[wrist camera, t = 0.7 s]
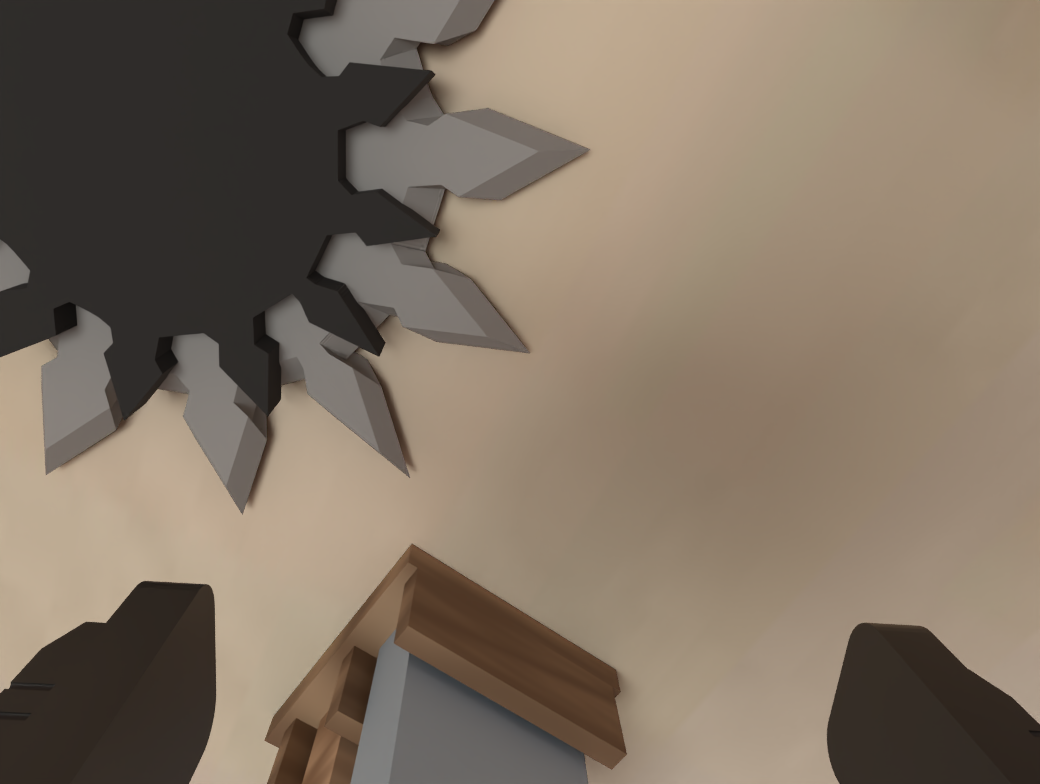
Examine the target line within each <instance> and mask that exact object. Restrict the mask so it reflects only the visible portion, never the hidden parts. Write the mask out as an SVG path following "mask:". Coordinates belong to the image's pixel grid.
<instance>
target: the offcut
mask: <svg viewBox="0 0 1040 784" xmlns="http://www.w3.org/2000/svg"><path fill="white" fill-rule="evenodd" d="M327 715H328V712H327V713H326V714H325V715H324V717H323V718H322V719H321V720H320V723H319V727H318V730H317V733H316V737H315V740H314V744H313V747H312V751H311V754H310V758H309V761H308V765H307V768H306V771H305V775H304V778H303V782H302V784H350V783H351V779H352V774H353V769H354V765H355V760H356V756H357V751H358V746H359V745H357V744H355V743H353V742H351V741H349V740H348V739H346V738H344V737H342V736H340V735H338V734H336V733H334V732H333V731H331V730H329V729H327V728H325V727H324V725H325V722H326V718H327Z"/></svg>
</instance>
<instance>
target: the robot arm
mask: <svg viewBox="0 0 1040 784" xmlns="http://www.w3.org/2000/svg"><path fill="white" fill-rule="evenodd" d="M215 704H216V657H215V604H214V594H213V591H212V588H211V587H210V586H209V585H207V584H189V583H172V582H154V581H143V582H141V583H139V584H138V585H137V586H136V587H135V588H134V590H133V591H132V592H131V593H130V595H129V596H128V597H127V598H126V599H125V601H124V602H123V603H122V604H121V605H120V607H119V608H118V609H117V610H116V611H115V613H114V614H113V615H112V616H111V618H110V619H109V620H108V621H107V622H106V623H97V622H85V623H83V624H82V625H80V626H78V627H77V628H75V629H73V630H72V631H70V632H68V633H67V634H65V635H63V636H62V637H60V638H58V639H57V640H55V641H53V642H52V643H50V644H48V645H47V646H45V647H43V648H42V649H41V650H40V651H39V652H38V653H37V654H36V655H35V656H34V657H33V659H32V660H31V661H30V662H29V663H28V664H27V665H26V666H25V667H24V668H23V669H22V671H21V672H20V673H19V674H18V675H17V676H16V677H15V678H14V679H13V680H12V681H11V686H10V688H9V689H4V690H3V691H2V692H1V693H0V784H189V782H190V780H191V778H192V776H193V774H194V772H195V770H196V768H197V765H198V763H199V761H200V759H201V757H202V755H203V753H204V750H205V748H206V745H207V742H208V739H209V736H210V732H211V728H212V723H213V718H214V712H215ZM827 745H828V753H829V758H830V762H831V765H832V769H833V771H834V774H835V776H836V778H837V780H838V782H839V783H840V784H1040V724H1039V723H1038V722H1037V721H1036V720H1035V719H1033V718H1032V717H1031V716H1030V715H1029V714H1028V713H1027V712H1026V711H1025V710H1024V709H1023V708H1022V707H1021V706H1020V705H1019V704H1018V703H1017V702H1016V701H1015V700H1014V699H1013V698H1012V697H1010V696H1009V695H1007V694H1006V693H1004V692H1003V691H1001V690H1000V689H998V688H997V687H995V686H994V685H992V684H990V683H989V682H987V681H986V680H984V679H983V678H981V677H980V676H978V675H977V674H975V673H974V672H972V671H970V670H969V669H967V668H966V667H965V666H964V665H963V664H962V663H961V662H960V661H959V660H958V659H957V658H956V657H955V656H954V655H953V654H952V653H951V652H950V651H949V650H948V649H947V648H946V647H945V646H944V645H943V644H942V643H941V642H940V641H939V640H938V639H937V638H936V637H935V636H934V634H933V633H931V632H930V631H929V630H928V629H926V628H924V627H921V626H912V625H894V624H877V623H861V624H859V625H858V626H856V627H855V628H854V630H853V631H852V633H851V635H850V638H849V642H848V646H847V650H846V654H845V658H844V662H843V666H842V670H841V674H840V678H839V682H838V686H837V690H836V694H835V698H834V702H833V706H832V710H831V714H830V718H829V722H828V728H827Z"/></svg>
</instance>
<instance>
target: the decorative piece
mask: <svg viewBox="0 0 1040 784" xmlns="http://www.w3.org/2000/svg"><path fill="white" fill-rule="evenodd" d="M493 2H494V0H0V357H2V356H5V355H7V354H10V353H12V352H15V351H18V350H20V349H23V348H25V347H28V346H31V345H33V344H36V343H38V342H41V341H43V340H46V339H49V340H50V341H51V343H52V344H53V345H54V347H55V348H56V349H57V351H58V355H57V358H55V359H53V360H51V361H50V362H48V363H46V364H44V365H42V405H43V426H44V447H45V468H46V475H47V474H48V473H50V472H52V471H53V470H55V469H56V468H58V467H59V466H61V465H62V464H64V463H66V462H67V461H69V460H70V459H72V458H73V457H75V456H77V455H78V454H80V453H81V452H83V451H84V450H86V449H87V448H89V447H91V446H92V445H94V444H95V443H97V442H98V441H100V440H101V439H103V438H105V437H106V436H108V435H109V434H111V433H112V432H114V431H115V430H116V429H117V427H118V425H119V423H120V421H121V419H122V417H123V419H124V420H125V419H127V418H128V417H129V416H130V415H132V414H133V413H134V412H135V411H137V410H138V409H139V408H140V407H142V406H143V405H144V404H145V403H146V402H147V401H148V400H149V399H150V397H151V396H152V395H153V394H154V393H155V391H156V390H157V389H161V390H168V391H174V392H180V393H187V394H188V395H189V396H188V400H187V404H186V407H185V411H184V415H183V417H184V419H185V421H186V423H187V424H188V426H189V428H190V430H191V431H192V433H193V435H194V437H195V438H196V440H197V442H198V443H199V445H200V447H201V448H202V450H203V451H204V453H205V455H206V456H207V458H208V460H209V461H210V463H211V464H212V466H213V468H214V469H215V471H216V473H217V474H218V476H219V477H220V479H221V481H222V482H223V484H224V486H225V487H226V489H227V490H228V492H229V494H230V495H231V497H232V499H233V500H234V502H235V503H236V505H237V507H238V508H239V510H240V512H241V513H242V515H243V512H244V509H245V506H246V503H247V499H248V496H249V493H250V490H251V487H252V484H253V481H254V478H255V475H256V472H257V469H258V466H259V463H260V460H261V457H262V453H263V450H264V447H265V444H266V441H267V423H266V415H267V416H268V415H269V414H270V413H271V412H272V410H273V409H274V408H275V406H276V405H277V404H278V403H279V401H280V400H281V385H284V384H288V383H291V382H295V381H299V380H303V379H305V381H306V387H307V393H308V395H310V396H311V397H312V398H313V399H314V400H316V401H317V402H318V403H319V404H320V405H321V406H323V407H324V408H325V409H326V410H327V411H329V412H330V413H331V414H332V415H333V416H334V417H336V418H337V419H338V420H339V421H341V422H342V423H343V424H344V425H346V426H347V427H348V428H349V429H350V430H352V431H353V432H354V433H355V434H357V435H358V436H359V437H360V438H361V439H363V440H364V441H365V442H366V443H368V444H369V445H370V446H371V447H373V448H374V449H375V450H376V451H377V452H379V453H380V454H381V455H382V456H384V457H385V458H386V459H387V460H389V461H390V462H391V463H392V464H393V465H395V466H396V467H397V468H398V469H400V470H401V471H402V472H403V473H404V474H406V475H407V476H408V477H409V478H410V476H409V473H408V470H407V467H406V463H405V460H404V457H403V454H402V451H401V448H400V444H399V441H398V438H397V435H396V432H395V429H394V425H393V422H392V419H391V416H390V413H389V409H388V406H387V403H386V400H385V397H384V394H383V390H382V387H381V385H380V383H379V381H378V379H377V377H376V376H375V374H374V372H373V370H372V368H371V366H370V364H369V362H368V360H367V359H366V358H364V357H362V356H360V355H359V354H357V353H355V352H354V351H355V350H356V349H357V348H358V347H360V348H362V349H364V350H366V351H368V352H370V353H372V354H375V355H377V356H380V354H381V352H382V349H383V347H384V345H385V341H384V340H383V338H382V337H381V335H380V333H379V332H378V330H377V329H376V328H377V327H378V326H379V325H380V324H381V323H382V322H383V321H384V320H385V319H386V318H387V317H388V316H389V315H392V316H398V318H399V320H400V322H401V324H402V327H405V328H407V329H409V330H411V331H414V332H416V333H418V334H420V335H423V336H425V337H427V338H429V339H432V340H434V341H436V342H442V343H450V344H459V345H467V346H475V347H483V348H491V349H500V350H508V351H516V352H524V353H529V351H528V350H527V349H526V348H525V346H524V345H523V344H522V342H521V341H520V340H519V339H518V337H517V336H516V335H515V334H514V332H513V331H512V330H511V329H510V327H509V326H508V325H507V324H506V322H505V321H504V320H503V319H502V317H501V316H500V315H499V314H498V312H497V311H496V310H495V309H494V307H493V306H492V305H491V304H490V302H489V301H488V300H487V299H486V297H485V296H484V295H483V294H482V292H481V291H480V290H479V289H478V287H477V286H476V285H475V284H474V282H473V281H472V280H471V279H470V278H469V277H467V276H465V275H464V274H462V273H460V272H459V271H457V270H455V269H454V268H452V267H451V266H449V265H447V264H446V263H440V262H433V261H430V260H429V258H428V256H427V254H426V252H425V251H426V248H427V245H428V242H429V238H430V237H437V235H438V233H439V231H440V229H438V228H437V227H435V226H434V222H435V219H436V216H437V213H438V210H439V207H440V203H441V200H442V197H443V194H444V191H445V189H448V190H449V191H451V192H452V193H454V194H455V195H456V196H458V197H466V198H480V199H494V200H501V199H503V198H505V197H507V196H509V195H510V194H512V193H514V192H516V191H518V190H519V189H521V188H523V187H525V186H526V185H528V184H530V183H532V182H534V181H535V180H537V179H539V178H541V177H543V176H544V175H546V174H548V173H550V172H551V171H553V170H555V169H557V168H559V167H560V166H562V165H564V164H566V163H568V162H569V161H571V160H573V159H575V158H576V157H578V156H580V155H582V154H584V153H585V152H587V151H589V150H590V149H588V148H585V147H583V146H580V145H578V144H575V143H573V142H571V141H568V140H566V139H563V138H561V137H558V136H556V135H553V134H551V133H548V132H546V131H543V130H541V129H538V128H536V127H533V126H531V125H528V124H526V123H523V122H521V121H518V120H516V119H513V118H511V117H509V116H506V115H504V114H501V113H499V112H496V111H494V110H491V109H489V108H486V109H478V110H471V111H463V112H456V113H448V114H445V115H444V114H443V112H442V111H441V109H440V108H439V106H438V104H437V103H436V101H435V100H434V98H433V96H432V94H431V91H430V88H429V86H428V82H429V81H430V80H431V79H432V78H433V77H434V76H435V74H434V73H433V72H432V71H430V70H423V68H422V64H421V61H420V58H419V55H418V52H417V47H418V45H419V44H420V42H425V43H431V44H434V43H435V44H441V45H450V44H452V43H453V42H455V41H457V40H459V39H461V38H463V37H465V36H466V35H468V34H470V33H472V32H474V31H476V30H477V28H478V26H479V25H480V23H481V21H482V20H483V18H484V17H485V15H486V13H487V12H488V10H489V8H490V7H491V5H492V4H493Z"/></svg>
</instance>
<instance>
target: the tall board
mask: <svg viewBox="0 0 1040 784" xmlns="http://www.w3.org/2000/svg"><path fill="white" fill-rule="evenodd" d="M395 633H396V630H395V631H394V632H393V633H392V634H391V636H390V637H389V638H388V639H387V640H386V642H385V643H384V644H383V645H382V646H381V648H380V649H379V654H378V658H377V663H376V667H375V672H374V677H373V681H372V686H371V691H370V695H369V700H368V705H367V709H366V714H365V718H364V723H363V728H362V732H361V737H360V742H359V746H358V751H357V756H356V760H355V765H354V769H353V774H352V779H351V783H350V784H588V778H587V771H586V764H585V758H584V753H582V752H581V751H579V750H577V749H575V748H574V747H572V746H570V745H568V744H567V743H565V742H563V741H561V740H560V739H558V738H556V737H555V736H553V735H551V734H549V733H548V732H546V731H544V730H542V729H541V728H539V727H537V726H536V725H534V724H532V723H530V722H529V721H527V720H525V719H523V718H522V717H520V716H518V715H516V714H515V713H513V712H511V711H510V710H508V709H506V708H504V707H503V706H501V705H499V704H497V703H496V702H494V701H492V700H491V699H489V698H487V697H485V696H484V695H482V694H480V693H478V692H477V691H475V690H473V689H471V688H470V687H468V686H466V685H465V684H463V683H461V682H459V681H458V680H456V679H454V678H452V677H451V676H449V675H447V674H446V673H444V672H442V671H440V670H439V669H437V668H435V667H433V666H432V665H430V664H428V663H426V662H425V661H423V660H421V659H420V658H418V657H416V656H414V655H413V654H411V653H409V652H407V651H406V650H404V649H402V648H401V647H399V646H397V645H395V644H394V638H395Z"/></svg>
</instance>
